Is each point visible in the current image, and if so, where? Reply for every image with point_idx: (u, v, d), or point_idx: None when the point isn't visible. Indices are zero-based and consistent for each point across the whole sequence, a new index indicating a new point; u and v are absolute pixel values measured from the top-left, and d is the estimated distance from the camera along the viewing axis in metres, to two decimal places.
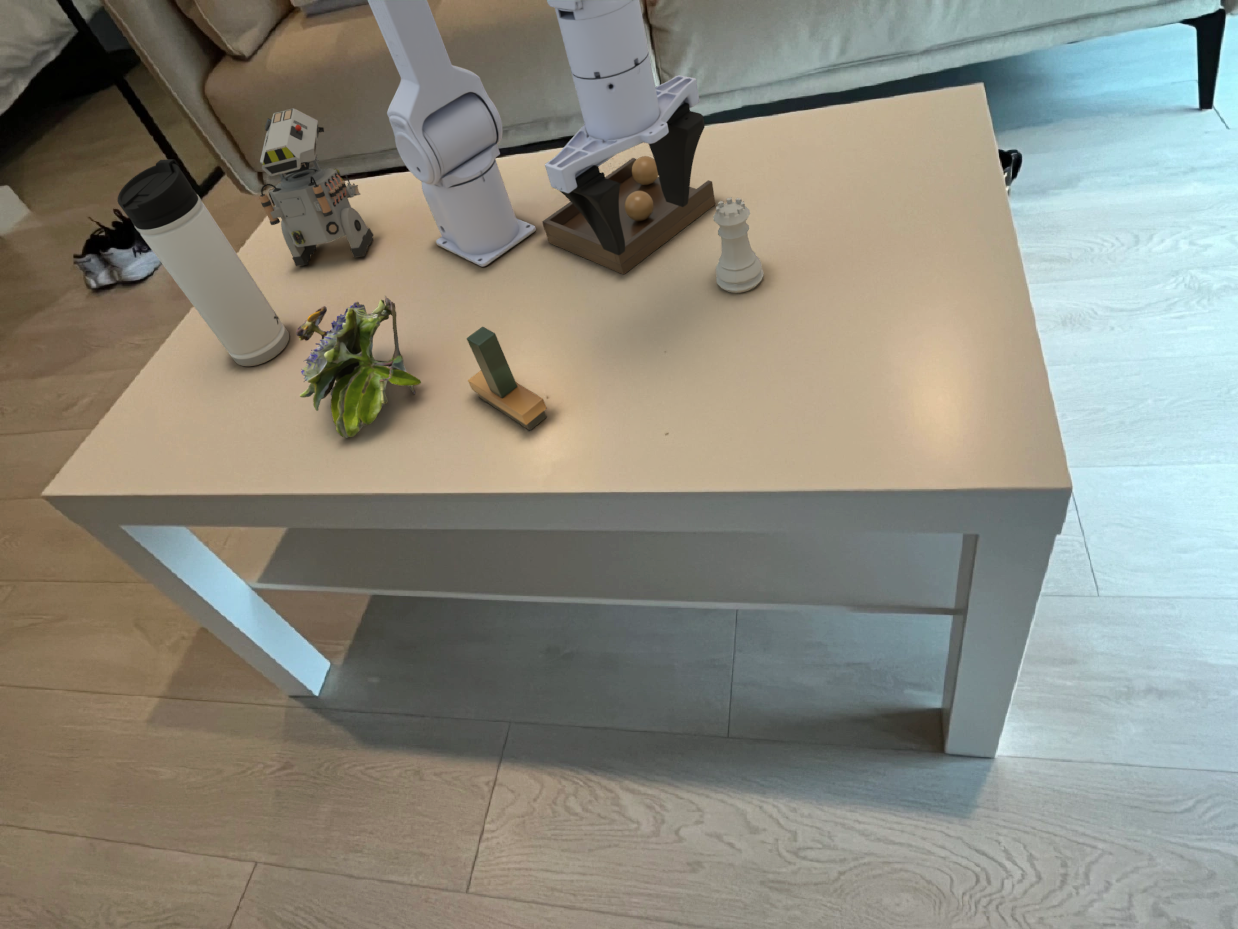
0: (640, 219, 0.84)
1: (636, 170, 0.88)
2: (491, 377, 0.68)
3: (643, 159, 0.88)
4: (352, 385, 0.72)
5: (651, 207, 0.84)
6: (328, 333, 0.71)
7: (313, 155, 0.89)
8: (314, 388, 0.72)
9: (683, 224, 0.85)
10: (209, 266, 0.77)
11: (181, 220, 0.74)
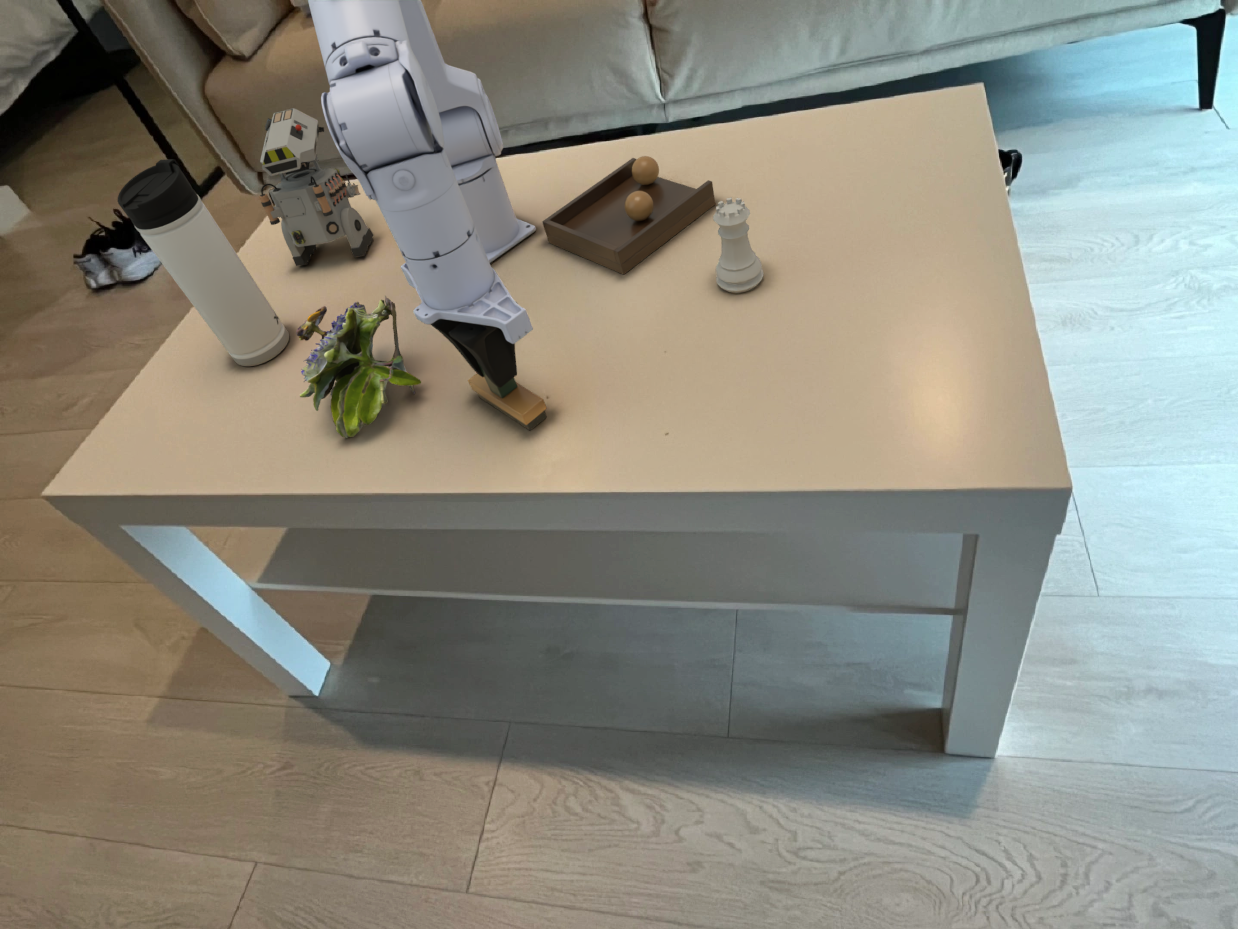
0: (640, 219, 0.84)
1: (636, 170, 0.88)
2: None
3: (643, 159, 0.88)
4: (352, 385, 0.72)
5: (651, 207, 0.84)
6: (328, 333, 0.71)
7: (313, 155, 0.89)
8: (314, 388, 0.72)
9: (683, 224, 0.85)
10: (209, 266, 0.77)
11: (181, 220, 0.74)
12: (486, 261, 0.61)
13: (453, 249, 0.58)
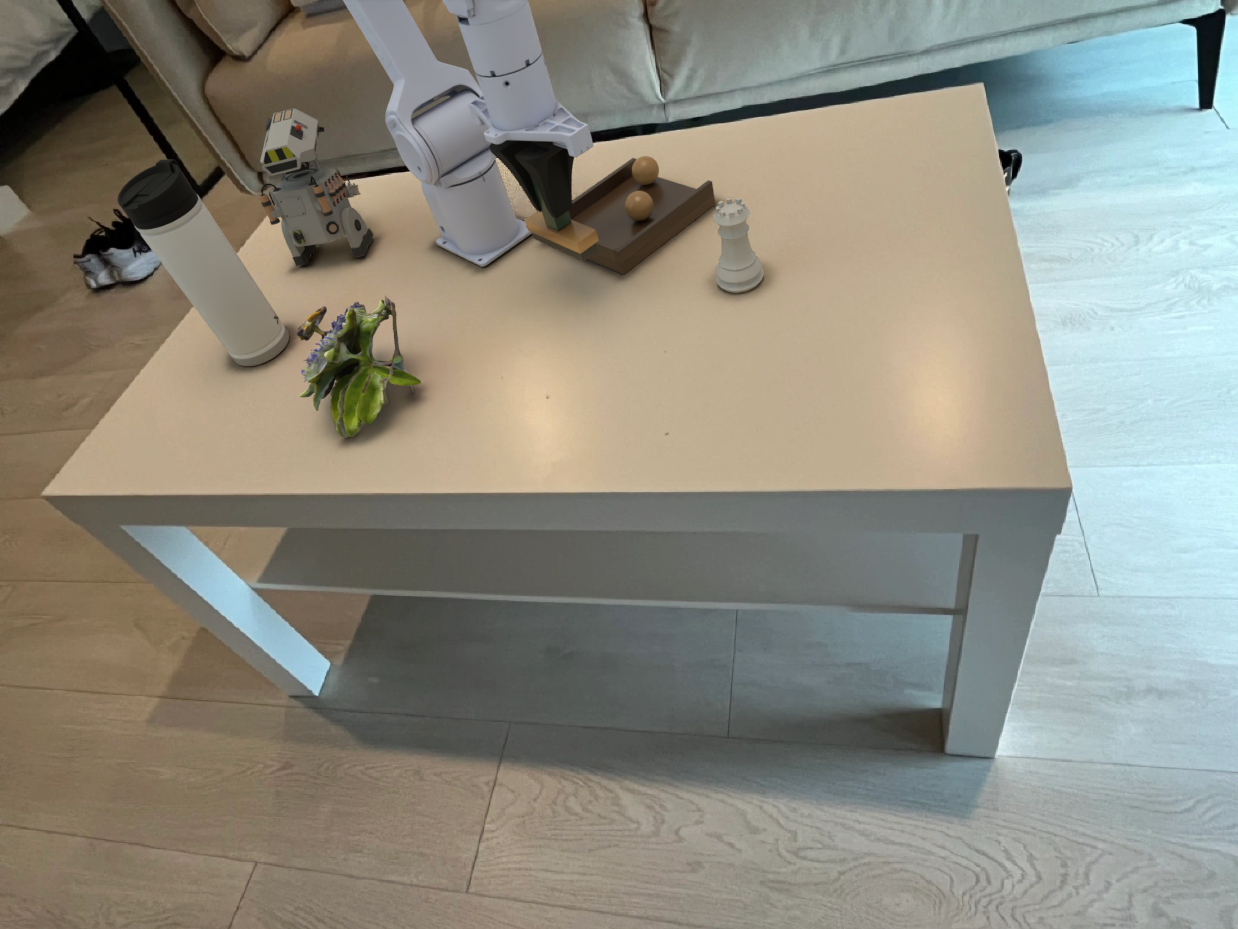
0: (640, 219, 0.84)
1: (636, 170, 0.88)
2: None
3: (643, 159, 0.88)
4: (352, 385, 0.72)
5: (651, 207, 0.84)
6: (328, 333, 0.71)
7: (313, 155, 0.89)
8: (314, 388, 0.72)
9: (683, 224, 0.85)
10: (209, 266, 0.77)
11: (181, 220, 0.74)
12: (551, 86, 0.67)
13: (524, 66, 0.64)
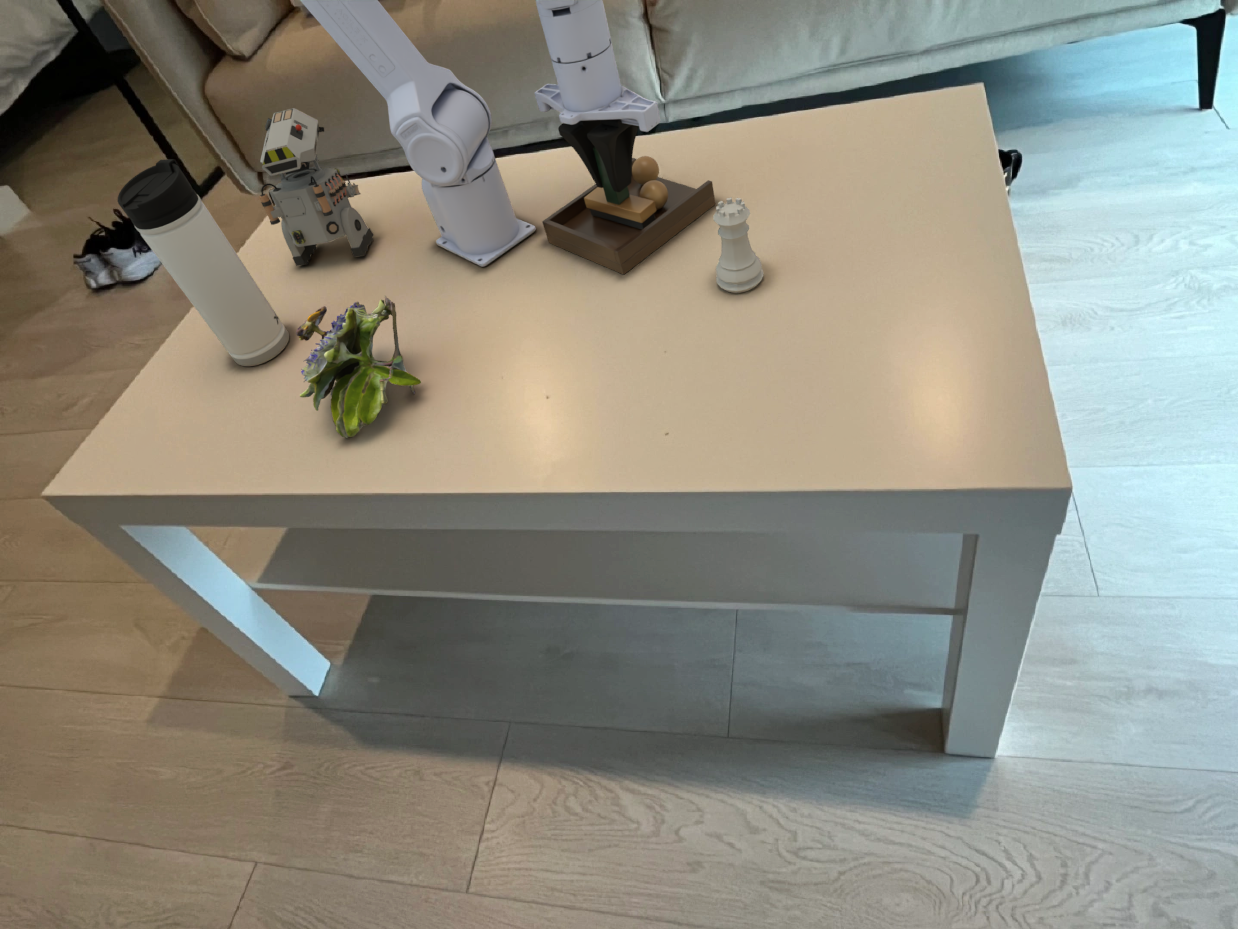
0: (651, 194, 0.84)
1: (636, 170, 0.88)
2: None
3: (643, 159, 0.88)
4: (352, 385, 0.72)
5: (664, 201, 0.85)
6: (328, 333, 0.71)
7: (313, 155, 0.89)
8: (314, 388, 0.72)
9: (683, 224, 0.85)
10: (209, 266, 0.77)
11: (181, 220, 0.74)
12: (617, 71, 0.76)
13: (599, 52, 0.72)
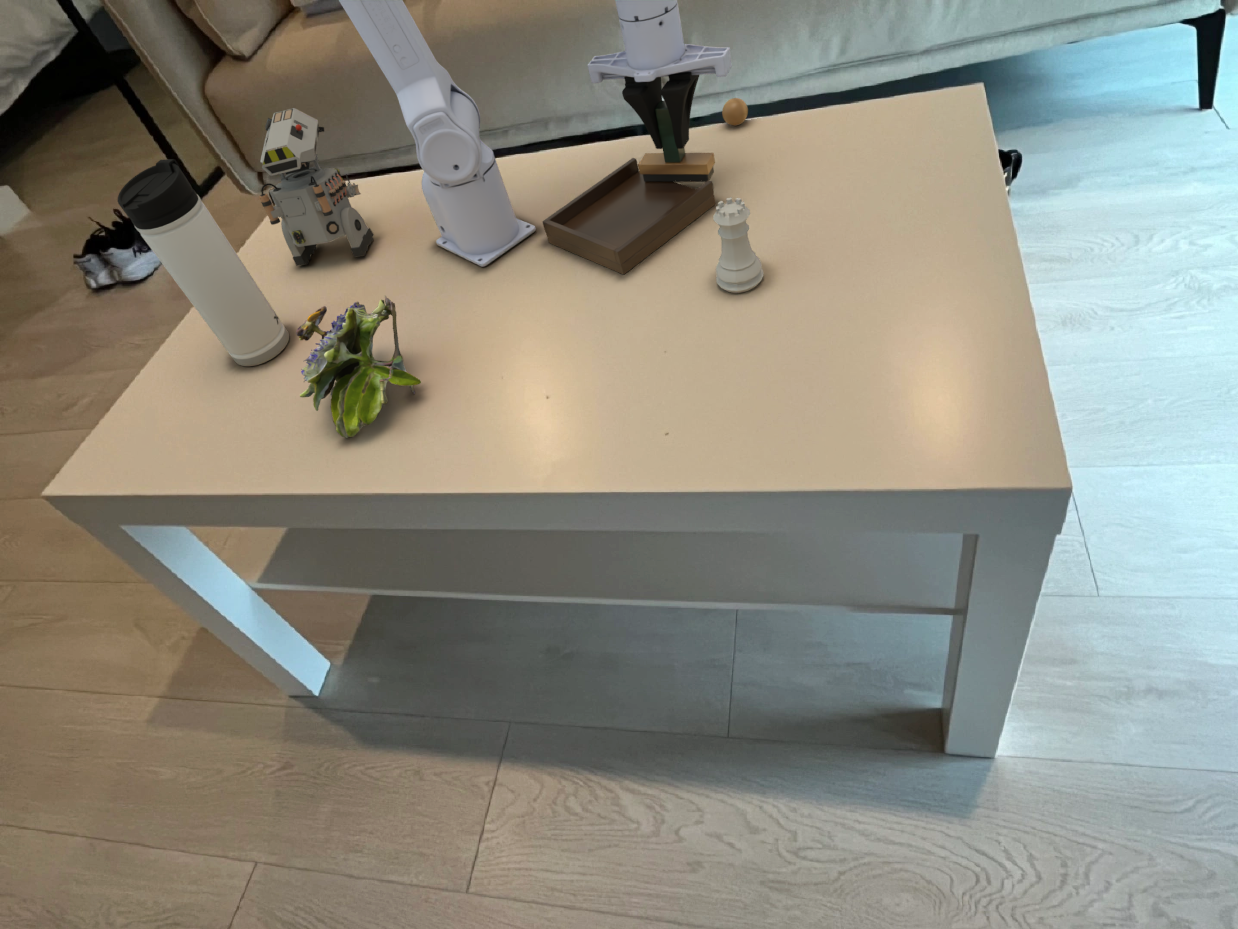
0: None
1: None
2: None
3: (727, 119, 0.96)
4: (352, 385, 0.72)
5: None
6: (328, 333, 0.71)
7: (313, 155, 0.89)
8: (314, 388, 0.72)
9: (683, 224, 0.85)
10: (209, 266, 0.77)
11: (181, 220, 0.74)
12: None
13: (673, 6, 0.76)
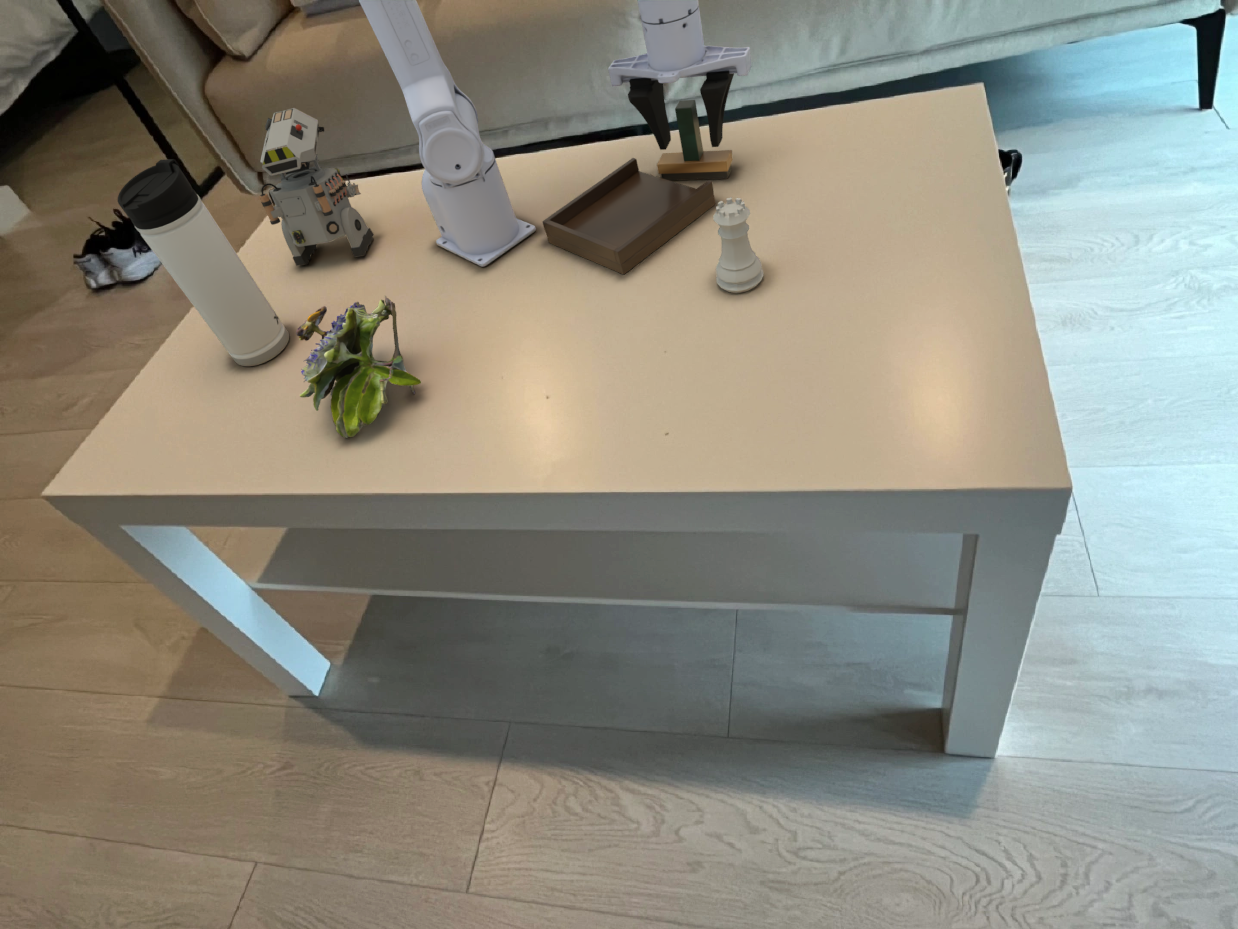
0: None
1: None
2: (694, 140, 0.87)
3: None
4: (352, 385, 0.72)
5: None
6: (328, 333, 0.71)
7: (313, 155, 0.89)
8: (314, 388, 0.72)
9: (683, 224, 0.85)
10: (209, 266, 0.77)
11: (181, 220, 0.74)
12: None
13: (696, 9, 0.78)
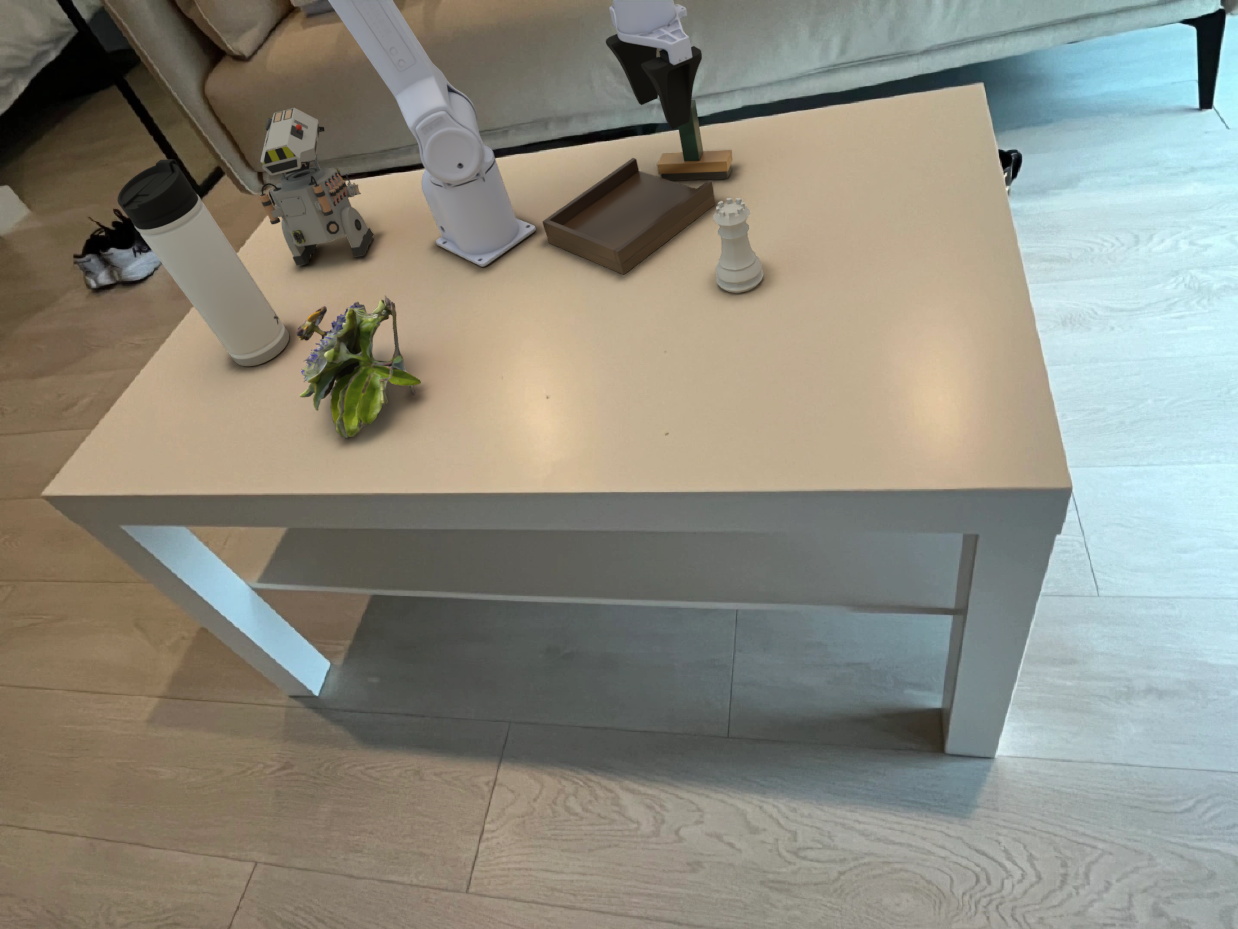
0: None
1: None
2: (694, 140, 0.87)
3: None
4: (352, 385, 0.72)
5: None
6: (328, 333, 0.71)
7: (313, 154, 0.89)
8: (314, 388, 0.72)
9: (683, 224, 0.85)
10: (209, 266, 0.77)
11: (181, 220, 0.74)
12: None
13: None
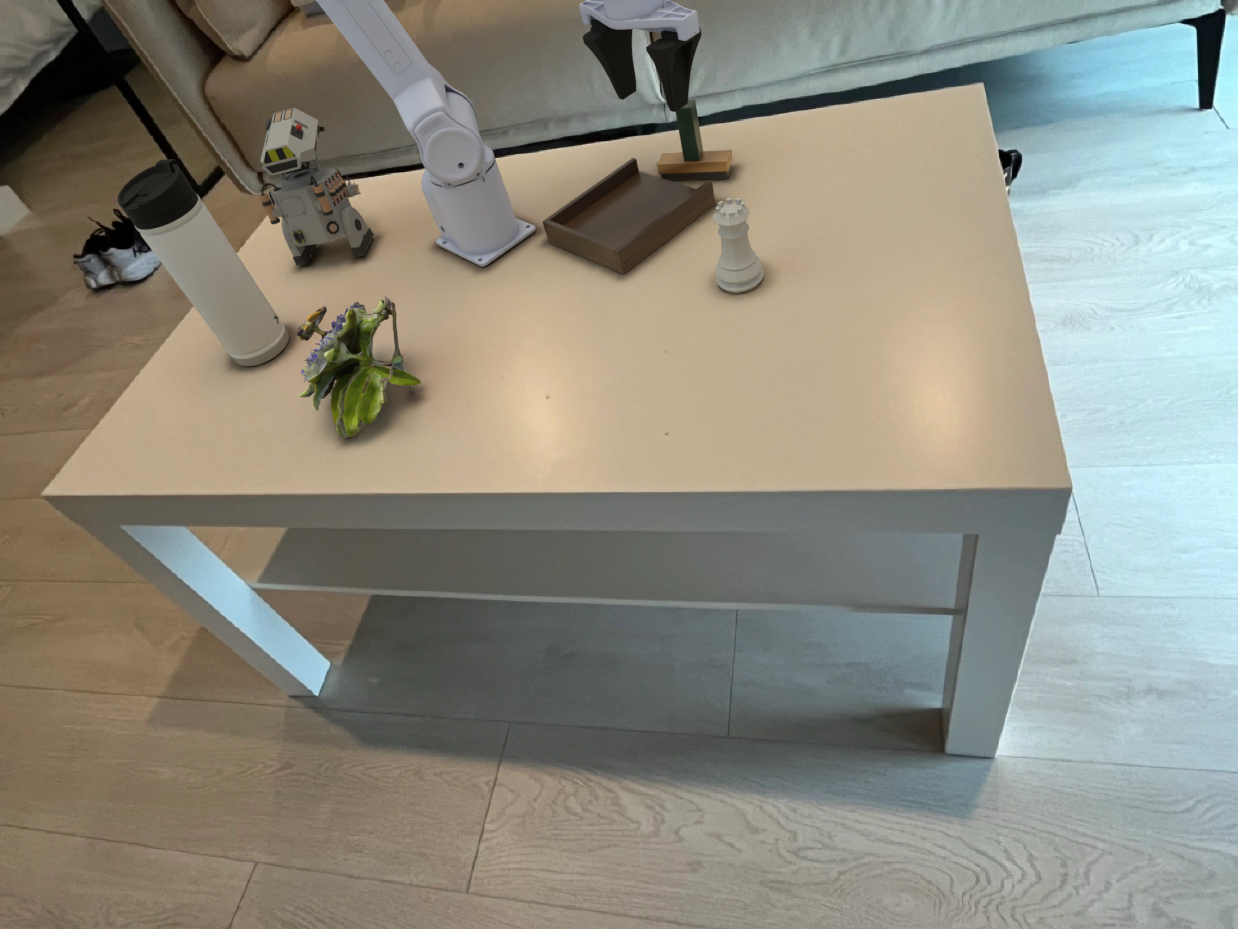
0: None
1: None
2: (694, 140, 0.87)
3: None
4: (352, 385, 0.72)
5: None
6: (328, 333, 0.71)
7: (313, 154, 0.89)
8: (314, 388, 0.72)
9: (683, 224, 0.85)
10: (209, 266, 0.77)
11: (181, 220, 0.74)
12: None
13: None
